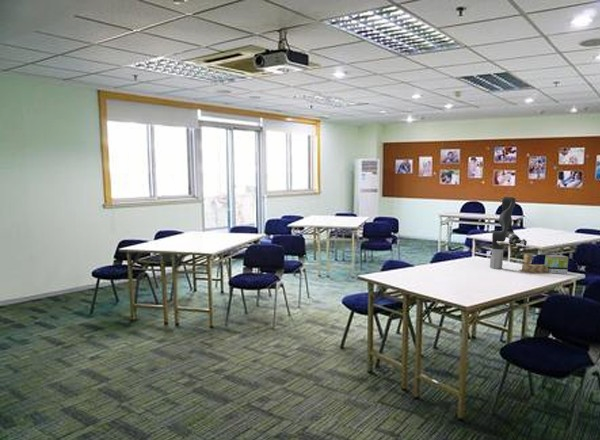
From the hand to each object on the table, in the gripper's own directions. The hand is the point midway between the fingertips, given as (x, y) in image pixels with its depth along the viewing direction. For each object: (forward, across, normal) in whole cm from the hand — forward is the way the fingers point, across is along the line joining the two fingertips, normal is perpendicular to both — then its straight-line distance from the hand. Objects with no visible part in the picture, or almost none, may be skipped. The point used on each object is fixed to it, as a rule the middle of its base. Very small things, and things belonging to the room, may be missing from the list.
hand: (520, 245), depth 410 cm
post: (+12, +2, +19) cm, 22 cm away
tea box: (+19, +24, +19) cm, 36 cm away
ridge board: (+22, +5, +16) cm, 28 cm away
